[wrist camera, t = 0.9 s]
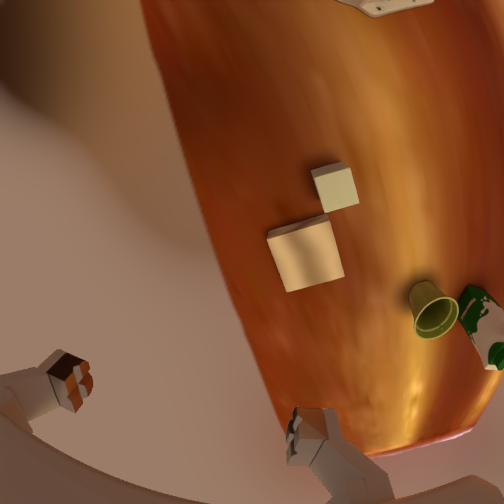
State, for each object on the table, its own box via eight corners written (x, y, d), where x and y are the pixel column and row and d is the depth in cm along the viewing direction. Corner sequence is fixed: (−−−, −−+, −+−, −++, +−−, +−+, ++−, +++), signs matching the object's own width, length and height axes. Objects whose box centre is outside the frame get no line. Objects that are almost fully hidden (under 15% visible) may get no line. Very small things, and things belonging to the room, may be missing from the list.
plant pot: (391, 300, 49) (404, 329, 41) (422, 264, 45) (440, 288, 37) (419, 318, 50) (432, 346, 42) (448, 285, 46) (466, 310, 38)
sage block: (340, 161, 40) (349, 167, 34) (349, 191, 42) (359, 203, 35) (310, 170, 41) (314, 177, 35) (319, 200, 43) (324, 212, 37)
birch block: (326, 212, 44) (329, 220, 40) (341, 265, 47) (344, 276, 44) (268, 230, 47) (266, 239, 43) (287, 280, 50) (286, 292, 47)
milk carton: (466, 280, 44) (514, 341, 26) (490, 288, 44) (534, 344, 26) (447, 313, 48) (484, 380, 30) (471, 319, 48) (508, 379, 30)
